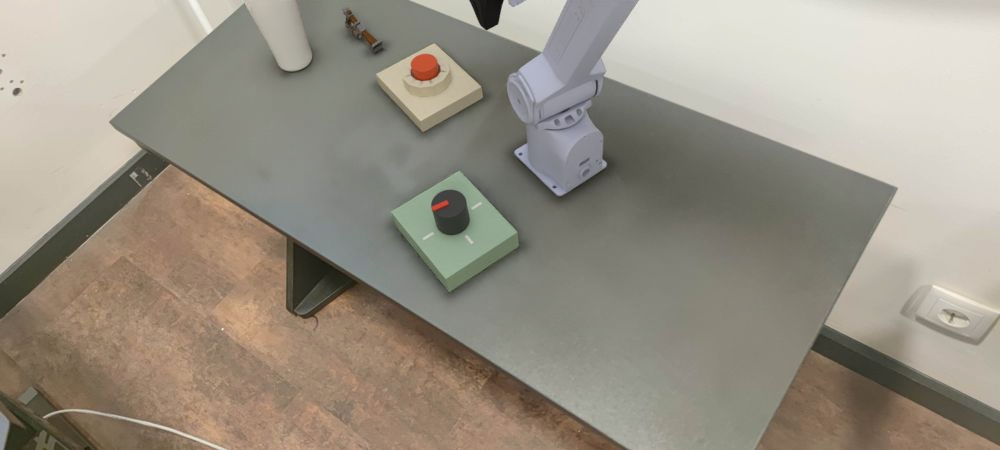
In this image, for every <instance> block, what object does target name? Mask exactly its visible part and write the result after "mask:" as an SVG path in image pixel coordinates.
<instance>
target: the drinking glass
mask: <svg viewBox="0 0 1000 450" xmlns="http://www.w3.org/2000/svg"><path fill="white" fill-rule="evenodd" d="M243 2H244V4H245V7H246V9H247V10H248V12H249V14H250V16H251V17H252V20H253V21H254V23H255V25H256V27H257V28H258V30H259V32H260V35H262V37H263V39H264V40H265V41H264V42H265V43H266V44H267V46H268V48H269V49H270V52H271V53H272V55H273V57H274V60H275V62H276V64H277V66H278V67H279V68H280V69H281V70H283V71H286V72H298V71H301V70H303V69H305V68H306V67H308V66H309V65H310V63H312V60H313V52H312V48H311V46H310V43H309V40H308V36H307V32H306V28H305V26H304V22H303V17H302V15H301V11H300V8H299V7H300V6H299V3H298V0H243Z"/></svg>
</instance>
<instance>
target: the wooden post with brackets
mask: <svg viewBox="0 0 1000 450" xmlns="http://www.w3.org/2000/svg"><path fill="white" fill-rule="evenodd" d="M341 10H342V12H343V13H342V14H343V15H344V16H345V20H344V27H345V28H346V30H348V29H350V30H351V35H354V36H355V39H362V38H364V39H365V40H366V42H367V43H368V44H369V46H370V49H371V53H372V54H374V53H376V52H377V51H379V50H380V49H382V48H383V40H382V39H381V38H380V39H377V38H375V36H373V35H372V34H371V33H370V32H369V31H368V30H367V27H365V26H364V24H363V22H361V21H360V20H358V18H357V17H356V16H355V14H354V12H353V11H352V10H351V9H350V7H346V6H342V9H341Z"/></svg>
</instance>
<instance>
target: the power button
mask: <svg viewBox="0 0 1000 450" xmlns="http://www.w3.org/2000/svg"><path fill="white" fill-rule="evenodd" d="M411 68H412V73H413V76H414V77H415V78H416V79H417V80H419V81H428V80H432V79H433V78H435V77H436V76H437V75H438V73H439V68H438V63H437V59H436V58H435V57H434V56H433V55H431V54H421V55H418V56H416V57H415V58H413V60H412V61H411Z"/></svg>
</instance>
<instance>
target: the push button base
mask: <svg viewBox="0 0 1000 450" xmlns="http://www.w3.org/2000/svg"><path fill="white" fill-rule="evenodd" d="M421 54H431V55H433V56H434V57H435V58H436V59H437V63H438V68H439V73H438V75H437V76H436V77H435V78H433V79H432V80H428V81H419V80H417V79H416V78H415V77H414V76H413V73H412V68H411V61H412V60H413V58H415V57H416V56H418V55H421ZM375 76H376V77H375V78H376V80H377V83H378V86H379V87H380V88H381V90H383V91H384V92H385V93H386V94H387V96H388V97H389V98H390V99H391V100H392V101H393V102H394V103H395V104H396V105H397V107H399V108H400V110H401V111H402V112H403V113H404V114H405V115H406V116H407V117H408V118H409V119H410V120H411V121H412V122H413V123H414V124H415V126H417V128H418V129H419V130H420V131H421V132H422V133H424V132H426V131H428V130H430V129H432V128H433V127H435V126H436V125H438V124H441V123H442V122H444V121H446V120H447V119H449V118H451V117H453V116H454V115H456V114H458V113H459V112H461V111H463V110H465V109H467V108H468V107H470V106H472V105H474V104H475V103H477V102H479V101H481V100H482V99H483V98H484V95H483V88H482V85H480V84H479V83H478V82H477V81H476V80H475V79H474V78H473V77H472V76H471V75H469V73H467V72H466V71H465V70H464V69H463V68H462V67H461V66H460V65H459V64H458V63H457V62H455V61H454V59H452V58H451V57H450V56H449V55H448V54H447V53H446V52H445V51H443V50H442V49H441V48H440V47H439V45H437V44H436V43H435V42H433V43H432V44H430V45H428V46H426V47H424V48H422V49H420V50H418V51H416V52H415V53H413V54H411V55H409V56H407V57H405V58H403V59H401V60H400V61H398V62H395V63H394V64H392V65H390V66H389V67H387V68H385V69H383V70H381V71H378V72H376V74H375Z"/></svg>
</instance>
